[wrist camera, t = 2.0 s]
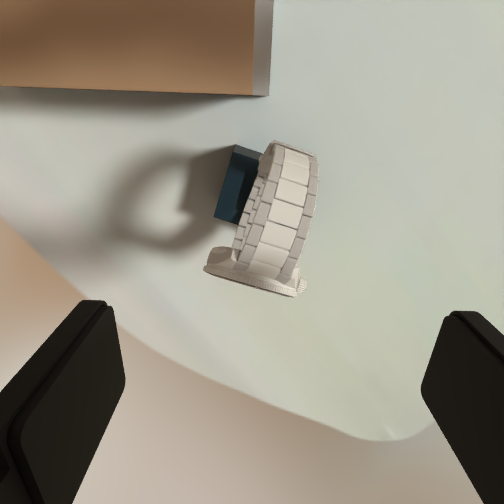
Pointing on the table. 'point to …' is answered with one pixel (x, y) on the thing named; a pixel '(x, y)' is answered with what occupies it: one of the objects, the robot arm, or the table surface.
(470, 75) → the table surface
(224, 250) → the watch
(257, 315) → the table surface
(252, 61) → the watch stand
